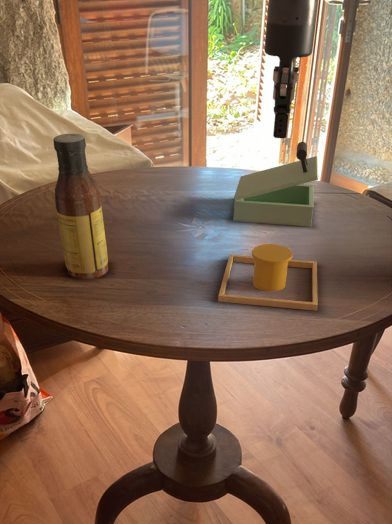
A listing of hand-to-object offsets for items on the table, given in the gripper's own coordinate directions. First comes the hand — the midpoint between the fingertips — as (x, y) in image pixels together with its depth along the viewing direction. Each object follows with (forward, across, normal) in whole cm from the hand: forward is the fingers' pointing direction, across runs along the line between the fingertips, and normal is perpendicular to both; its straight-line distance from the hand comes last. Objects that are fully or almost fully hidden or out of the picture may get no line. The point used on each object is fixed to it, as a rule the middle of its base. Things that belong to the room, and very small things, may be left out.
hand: (279, 136), depth 97 cm
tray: (+14, -28, -1) cm, 31 cm away
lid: (+7, 0, 0) cm, 7 cm away
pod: (+14, -28, -1) cm, 31 cm away
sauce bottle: (+14, -29, +26) cm, 41 cm away
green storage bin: (+14, 0, 0) cm, 14 cm away
